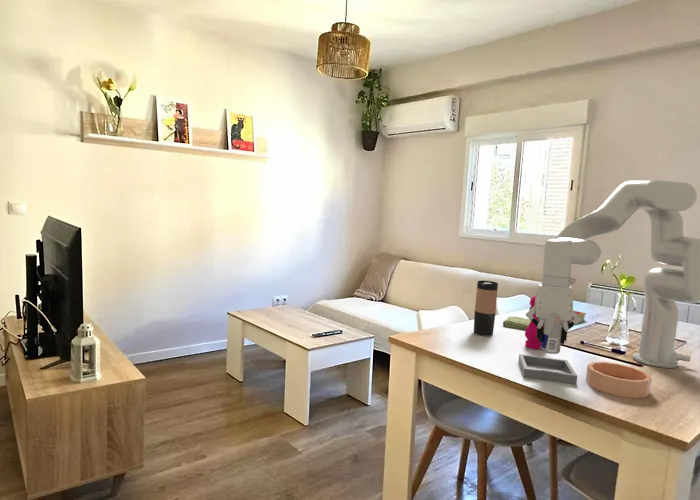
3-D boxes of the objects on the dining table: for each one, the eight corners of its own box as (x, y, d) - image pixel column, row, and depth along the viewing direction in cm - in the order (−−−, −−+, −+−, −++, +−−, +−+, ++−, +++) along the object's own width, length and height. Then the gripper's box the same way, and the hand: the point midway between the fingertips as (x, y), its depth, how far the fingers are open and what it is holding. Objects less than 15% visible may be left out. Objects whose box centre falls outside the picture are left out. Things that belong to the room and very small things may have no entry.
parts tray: (566, 368, 143) (567, 360, 142) (576, 384, 129) (577, 375, 129) (518, 361, 146) (519, 354, 146) (523, 377, 132) (524, 368, 132)
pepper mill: (547, 351, 159) (553, 294, 157) (525, 348, 161) (531, 292, 159) (543, 345, 166) (548, 290, 164) (522, 342, 168) (527, 288, 166)
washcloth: (547, 335, 182) (548, 327, 182) (501, 327, 190) (502, 319, 190) (551, 328, 193) (552, 321, 193) (507, 321, 202) (508, 314, 202)
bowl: (637, 381, 135) (639, 366, 134) (657, 401, 120) (659, 385, 120) (581, 373, 138) (583, 359, 138) (594, 392, 124) (596, 376, 123)
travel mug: (489, 331, 181) (494, 281, 179) (496, 336, 174) (501, 284, 172) (470, 330, 181) (474, 280, 179) (476, 335, 173) (480, 283, 171)
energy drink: (543, 347, 141) (546, 308, 140) (562, 351, 138) (565, 311, 136) (537, 351, 137) (541, 311, 135) (557, 355, 133) (560, 314, 132)
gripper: (584, 281, 136) (579, 341, 138) (523, 277, 141) (519, 335, 143) (591, 286, 129) (585, 349, 131) (526, 281, 133) (521, 342, 135)
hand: (550, 341), depth 137 cm, fingers closed on energy drink, 5 cm apart
